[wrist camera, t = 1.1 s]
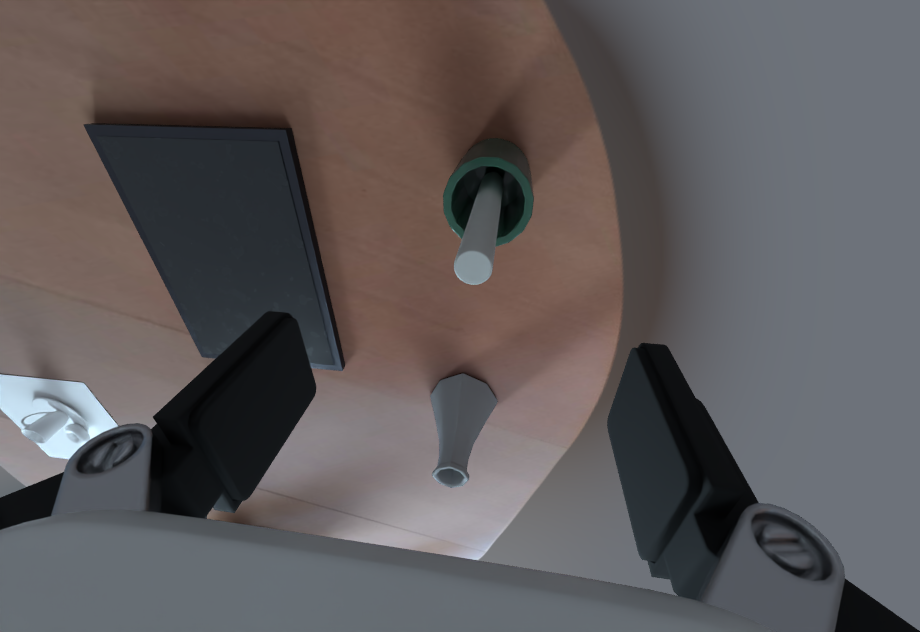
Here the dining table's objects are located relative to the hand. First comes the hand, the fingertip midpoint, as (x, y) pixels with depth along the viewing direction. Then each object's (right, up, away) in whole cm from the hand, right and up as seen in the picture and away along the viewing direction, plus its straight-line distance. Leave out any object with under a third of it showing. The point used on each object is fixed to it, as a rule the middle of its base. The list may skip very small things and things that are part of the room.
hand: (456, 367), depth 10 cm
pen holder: (+3, +12, +17) cm, 21 cm away
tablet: (-21, +6, +25) cm, 33 cm away
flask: (+1, -8, +31) cm, 32 cm away
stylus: (+3, +12, +17) cm, 21 cm away
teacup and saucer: (-61, -15, +46) cm, 78 cm away
